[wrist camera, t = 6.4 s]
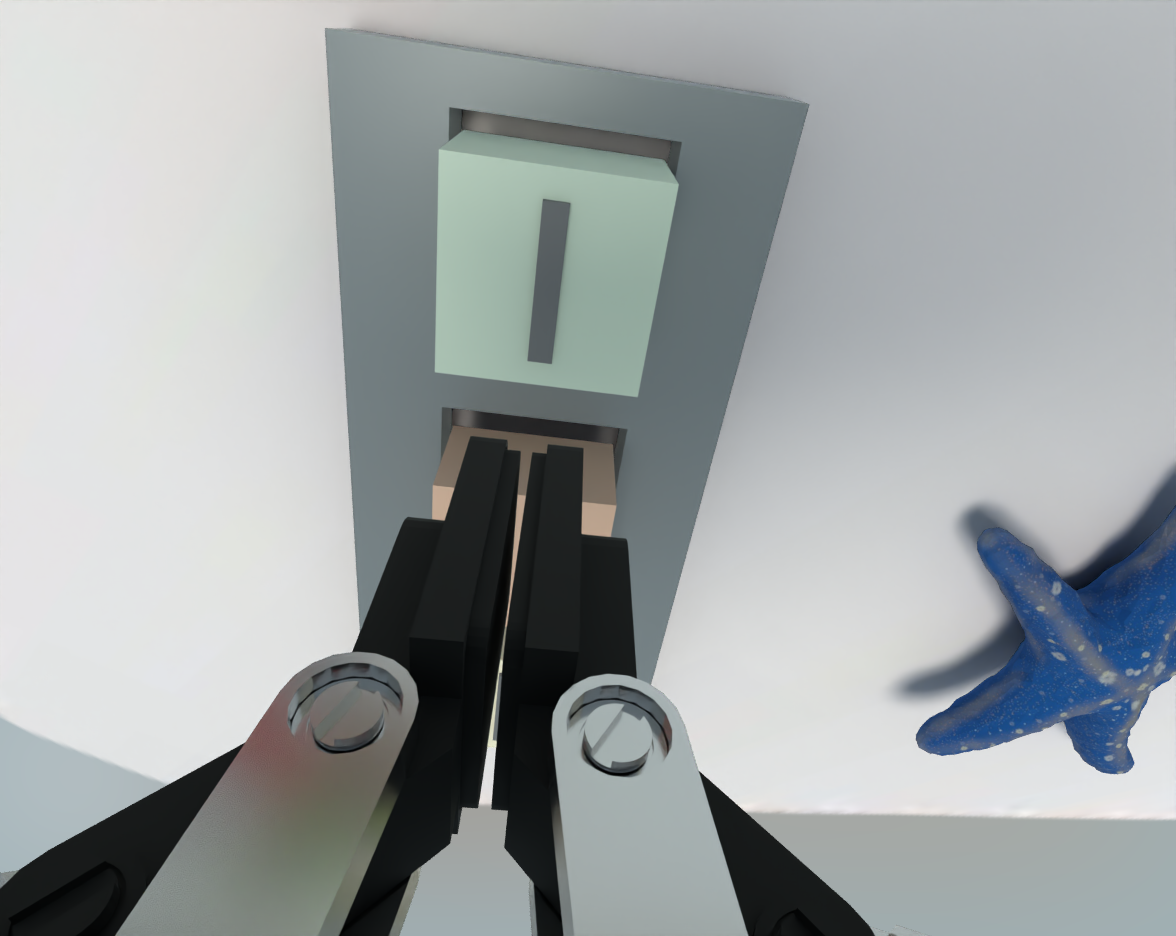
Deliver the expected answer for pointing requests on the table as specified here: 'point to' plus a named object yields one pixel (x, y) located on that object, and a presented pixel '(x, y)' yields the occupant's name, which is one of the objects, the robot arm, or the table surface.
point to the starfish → (1072, 653)
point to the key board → (425, 398)
